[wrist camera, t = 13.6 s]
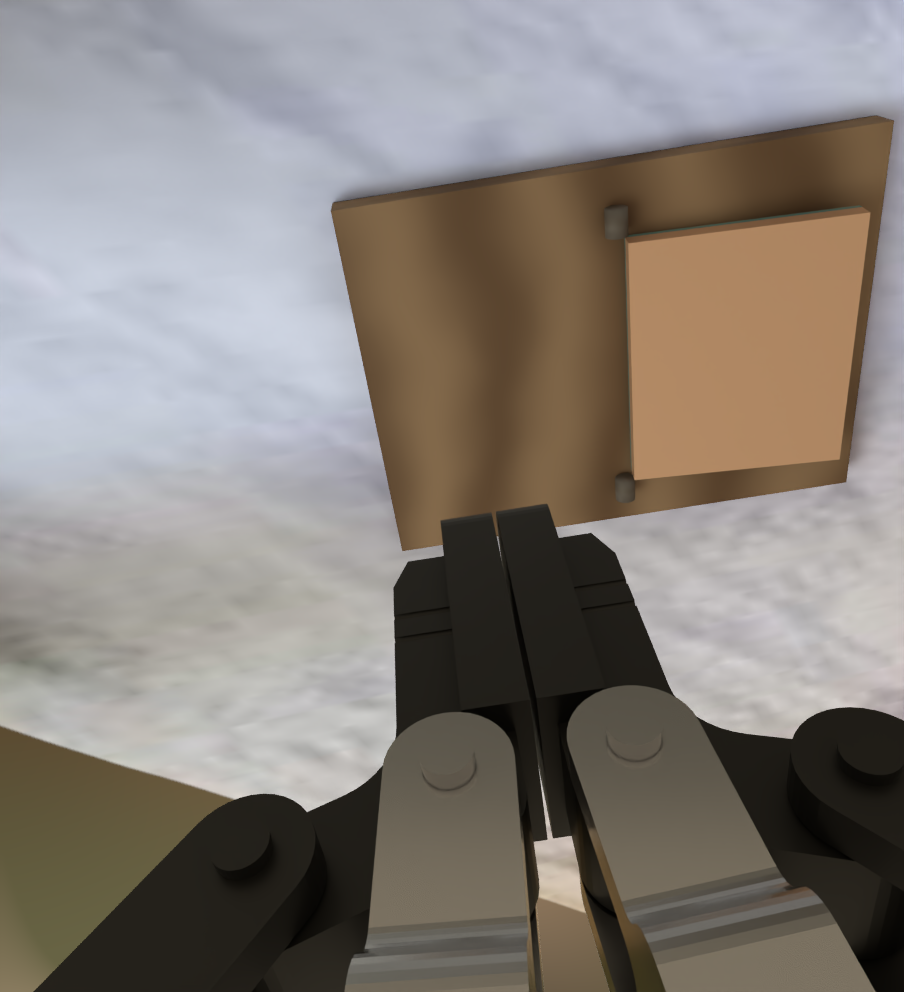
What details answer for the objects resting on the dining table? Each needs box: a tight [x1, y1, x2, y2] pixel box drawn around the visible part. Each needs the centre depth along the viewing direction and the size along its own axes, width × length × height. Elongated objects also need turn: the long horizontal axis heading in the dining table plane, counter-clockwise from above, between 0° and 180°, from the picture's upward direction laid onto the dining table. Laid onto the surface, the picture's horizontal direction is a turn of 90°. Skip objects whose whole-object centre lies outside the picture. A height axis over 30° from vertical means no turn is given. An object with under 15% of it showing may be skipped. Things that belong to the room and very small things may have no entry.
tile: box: [624, 205, 871, 480], centre depth 39 cm, size 10×12×1 cm
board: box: [331, 116, 894, 551], centre depth 41 cm, size 24×18×3 cm
